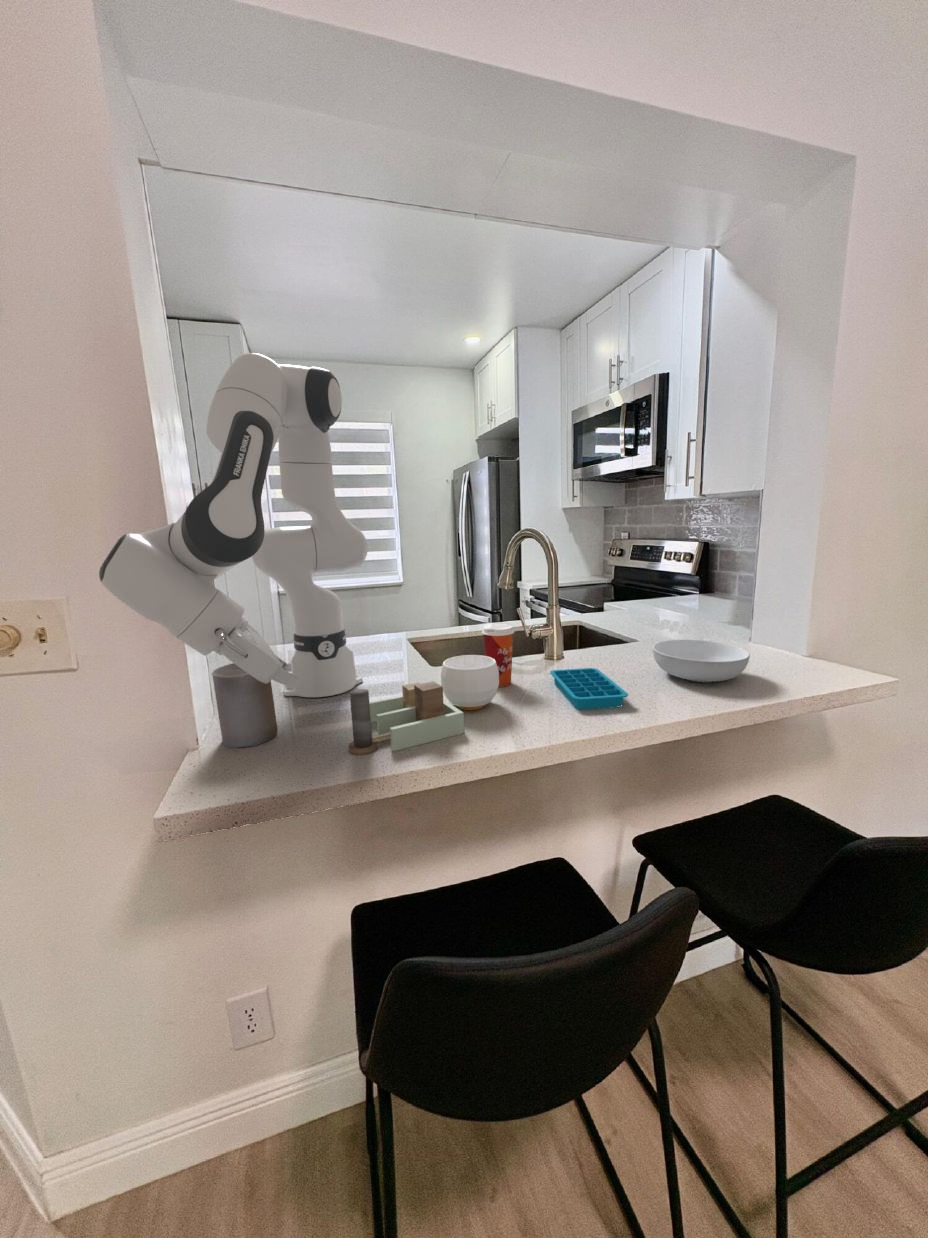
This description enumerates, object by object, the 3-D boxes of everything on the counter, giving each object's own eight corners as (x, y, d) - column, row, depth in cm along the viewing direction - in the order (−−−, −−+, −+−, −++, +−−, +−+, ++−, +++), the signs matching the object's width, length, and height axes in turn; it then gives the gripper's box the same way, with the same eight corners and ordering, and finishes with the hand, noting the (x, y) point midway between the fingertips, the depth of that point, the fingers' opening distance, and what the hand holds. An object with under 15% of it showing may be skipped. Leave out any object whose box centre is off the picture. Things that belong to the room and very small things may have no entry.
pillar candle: (261, 722, 101) (252, 651, 98) (287, 734, 94) (277, 658, 92) (213, 740, 94) (200, 663, 91) (237, 754, 87) (225, 672, 84)
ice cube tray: (574, 713, 100) (574, 699, 100) (548, 682, 120) (548, 670, 120) (630, 709, 101) (630, 695, 101) (595, 679, 121) (595, 667, 121)
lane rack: (365, 722, 99) (364, 703, 98) (429, 707, 106) (428, 689, 105) (393, 751, 86) (391, 729, 85) (464, 732, 92) (463, 712, 91)
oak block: (404, 718, 100) (402, 685, 99) (420, 714, 102) (418, 682, 101) (410, 724, 97) (408, 690, 96) (427, 720, 99) (425, 686, 98)
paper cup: (506, 690, 115) (505, 631, 112) (477, 685, 119) (475, 628, 116) (520, 680, 121) (519, 624, 118) (493, 676, 125) (491, 622, 123)
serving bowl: (727, 698, 105) (729, 666, 104) (635, 678, 120) (636, 650, 119) (761, 675, 119) (763, 647, 117) (675, 660, 134) (676, 635, 133)
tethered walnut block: (345, 746, 88) (340, 690, 86) (434, 724, 97) (431, 673, 95) (353, 757, 84) (348, 699, 82) (446, 733, 92) (443, 680, 90)
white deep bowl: (448, 694, 113) (446, 653, 111) (502, 696, 111) (501, 654, 109) (436, 715, 101) (434, 669, 99) (496, 717, 99) (495, 670, 97)
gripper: (234, 618, 65) (317, 677, 71) (225, 600, 83) (292, 648, 89) (201, 657, 64) (288, 713, 70) (199, 630, 81) (269, 677, 88)
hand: (290, 677), depth 80 cm, fingers open, 8 cm apart
